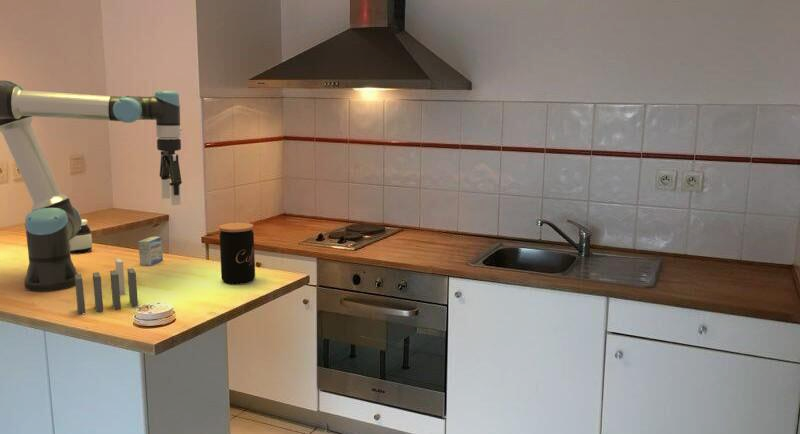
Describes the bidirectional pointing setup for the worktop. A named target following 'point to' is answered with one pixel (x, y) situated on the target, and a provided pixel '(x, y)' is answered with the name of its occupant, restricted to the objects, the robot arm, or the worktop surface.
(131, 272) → the domino
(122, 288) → the domino
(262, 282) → the worktop surface
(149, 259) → the medicine box
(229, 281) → the coffee jar
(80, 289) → the domino
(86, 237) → the spread jar
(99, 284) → the domino
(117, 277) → the domino
